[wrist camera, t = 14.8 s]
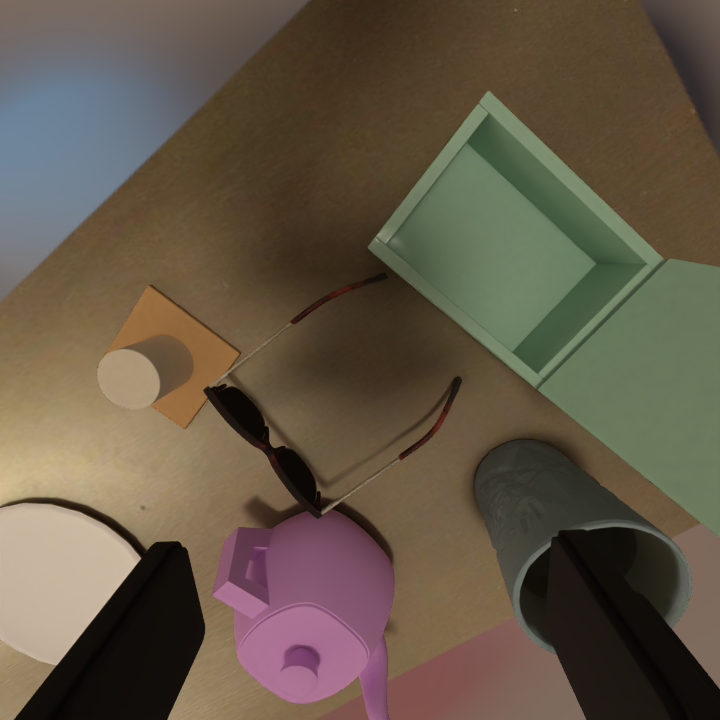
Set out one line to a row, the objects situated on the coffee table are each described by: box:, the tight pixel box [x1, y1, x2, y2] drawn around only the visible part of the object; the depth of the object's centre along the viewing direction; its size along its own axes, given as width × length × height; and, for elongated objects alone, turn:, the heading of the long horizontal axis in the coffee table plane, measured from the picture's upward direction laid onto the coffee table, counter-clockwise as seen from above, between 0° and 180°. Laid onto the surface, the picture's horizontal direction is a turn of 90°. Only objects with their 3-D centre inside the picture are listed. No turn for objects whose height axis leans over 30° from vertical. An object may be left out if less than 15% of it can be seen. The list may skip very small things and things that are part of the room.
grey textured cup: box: [474, 439, 692, 655], centre depth 27 cm, size 10×10×12 cm
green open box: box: [368, 90, 666, 389], centre depth 25 cm, size 15×11×6 cm
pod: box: [97, 335, 193, 410], centre depth 29 cm, size 5×5×5 cm
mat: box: [97, 285, 241, 429], centre depth 31 cm, size 9×9×1 cm
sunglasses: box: [203, 273, 462, 519], centre depth 29 cm, size 14×16×5 cm
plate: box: [0, 502, 142, 665], centre depth 38 cm, size 21×21×1 cm
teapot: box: [212, 508, 394, 720], centre depth 31 cm, size 13×20×11 cm, turn 44°
